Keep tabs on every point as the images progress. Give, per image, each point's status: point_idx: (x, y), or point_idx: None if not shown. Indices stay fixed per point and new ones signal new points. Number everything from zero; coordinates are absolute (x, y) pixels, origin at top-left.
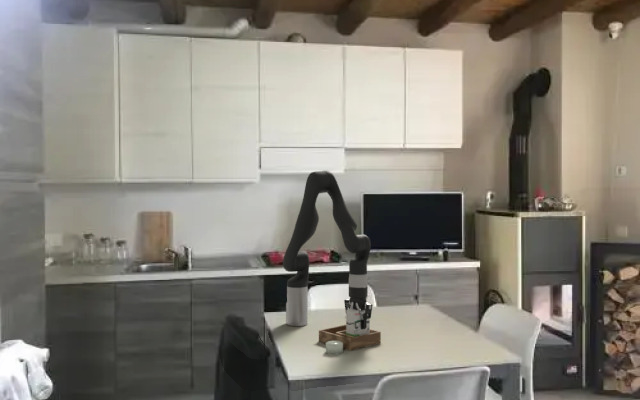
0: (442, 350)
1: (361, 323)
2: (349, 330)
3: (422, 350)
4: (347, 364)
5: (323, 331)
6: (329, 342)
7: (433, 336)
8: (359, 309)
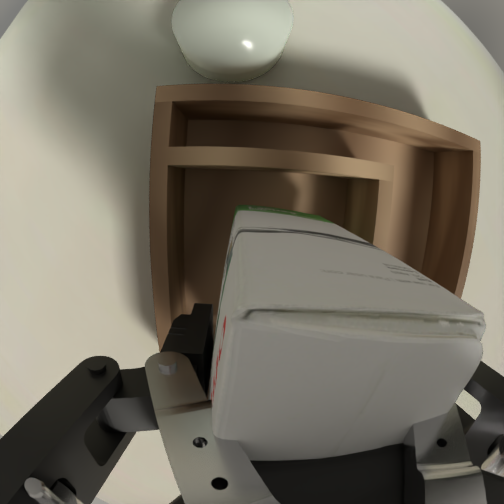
0: (15, 393)
1: (193, 329)
2: (294, 218)
3: (25, 366)
4: (65, 4)
5: (453, 133)
6: (266, 2)
7: (148, 485)
8: (183, 473)
